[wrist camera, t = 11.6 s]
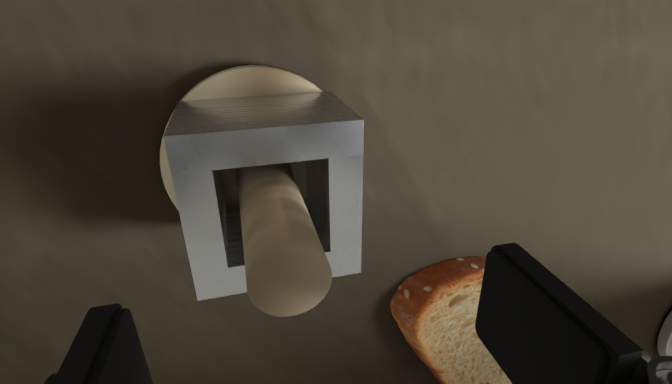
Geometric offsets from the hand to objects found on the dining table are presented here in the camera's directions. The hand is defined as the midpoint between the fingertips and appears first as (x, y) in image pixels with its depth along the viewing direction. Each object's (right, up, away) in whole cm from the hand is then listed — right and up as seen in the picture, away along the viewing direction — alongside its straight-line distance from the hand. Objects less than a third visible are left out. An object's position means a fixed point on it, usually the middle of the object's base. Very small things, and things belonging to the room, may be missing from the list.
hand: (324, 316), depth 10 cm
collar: (-3, +5, +8) cm, 10 cm away
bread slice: (+12, -9, +21) cm, 26 cm away
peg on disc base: (-3, +5, +9) cm, 11 cm away
